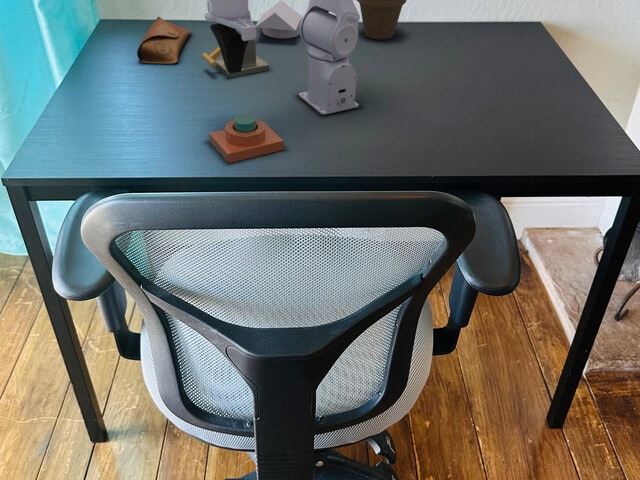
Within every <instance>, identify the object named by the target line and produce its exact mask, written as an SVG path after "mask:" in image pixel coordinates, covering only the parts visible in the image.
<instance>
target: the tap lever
mask: <svg viewBox="0 0 640 480" xmlns="http://www.w3.org/2000/svg"><path fill="white" fill-rule="evenodd" d="M220 56H222V53H221V50H220V47H219V46H218V47H217V48H216V49H214V50H213V51H212V52H211V53H210V54H208V53H206V52H203V53H202V55H201V57H202V59H204V61H206V62H207V63H208V64H209V65H210V66H211V67H212V68H215V67H216V65H217V63H216V62H215V61H214V60H217V59H218V58H219V57H220Z"/></svg>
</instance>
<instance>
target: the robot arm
mask: <svg viewBox="0 0 640 480" xmlns="http://www.w3.org/2000/svg"><path fill="white" fill-rule="evenodd" d="M206 4H207V5H206V6H207V12H205V13H204V19H205V20H206V21H207V22H209V23H211V22H212V23H213V22H215V23H213V24H211V25H210V26H209V29H210V30H211V32H212V34H213V36H214V38H215V39H216V42H217V44H218V47H220V50H221V53H222V54H221V56H222V59H223V60H224V64H225V67H226V70H227V71H228V72H229V73H236V72H241V70H242V65H243V59H244V54H245V50H246V47H247V44H248V42H249V40H254V39H255V40H256V39H257V28H256V24H254V23H253V19H252V15H251V14H252V13H251V11H250V10H249V0H206ZM360 19H361V15H360V13H359V11H358V8H357V7H356V5H355V3H354V0H309V3H308V5H307V8H306V10H305V12H304V13H303V15H302V19H301V22H300V27H299V31H300V35H299V36H300V38H301V40H302V41H303V42H304V43H305V50H306V51H307V91H303V92H300V93H298V97H299V98H300V99H302V100H303V101H305V102H306V103H307V104H308V105H309V106H310V107H312V108H313V109H314V110H316V112H318V113H319V114H320V115H322V116H325V115H330V114H334V113H339V112H342V111H346V110H352V109H355V108H359V106H360V104H359V103H358V101H357V102H356V91H357V79H358V78H357V72H356V69H355V68H354V67H353V65H351V63H350V59H349V57H351V54H352V53H353V51H354V50H355V49H356V46H357V43H358V39H359V24H360V23H359V22H360Z"/></svg>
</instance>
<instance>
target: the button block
mask: <svg viewBox="0 0 640 480" xmlns="http://www.w3.org/2000/svg"><path fill="white" fill-rule="evenodd" d="M224 127H225V128H224V129H222V130H216V131H212V132H208V139H209V143H210V145H211V146H212V147H213V148H214V149H215V150H216V151H217V152H218V153H219V154H220V156H222V158H223V159H224V160H225V161H226V162H227V164H232V163H236V162H241V161H244V160H248V159H252V158H255V157H259V156H260V157H261V156H264V155H269V154H273V153H275V152H276V153H277V152H280V151H284V149H285V147H284V139H282V137H280V136H279V135H278V134H277V133H276V132H275V131H274V130H273V129H272V128H271V127H269V125H267V124H266V122H264V121H263V120H260V119H257V118H256V130H255V131H253V132H249V133H240V132H237V131H235V129H234V119H232V120H230V121H228V122H227V123H226V124H225V126H224Z"/></svg>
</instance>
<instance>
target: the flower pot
mask: <svg viewBox="0 0 640 480" xmlns="http://www.w3.org/2000/svg"><path fill="white" fill-rule="evenodd" d="M356 2H357V3H359V8H360V14H361V15H360V17H361V21H362V26H363V31H364V34H365V36H366V37H367V38H368V39H373V40H380V41H381V40H382V41H383V40H388V39H391V38H392V37H394V34H395V31H396V28H397V25H398V22H399V20H400V19H399V18H400V16H401V12H402V8H403V6H404V5H405V4H406V3H407V0H356Z"/></svg>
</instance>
